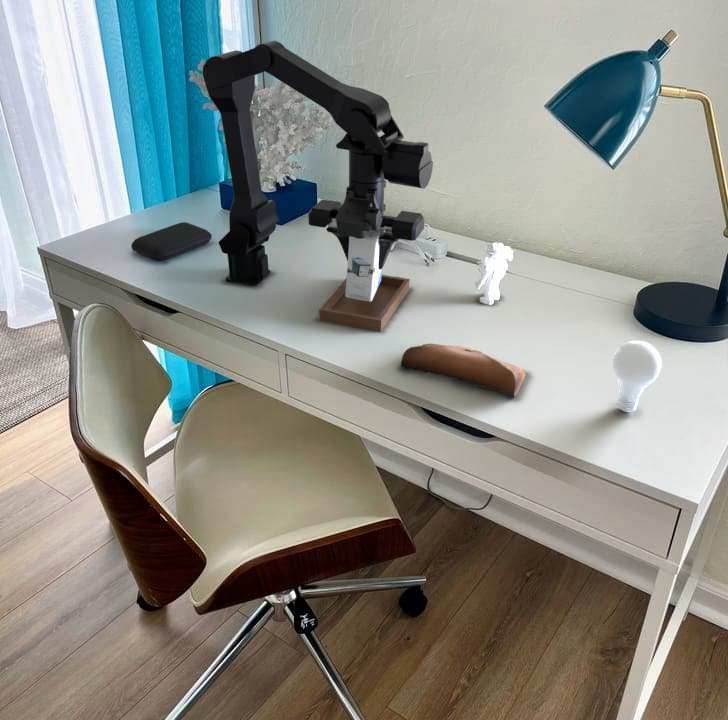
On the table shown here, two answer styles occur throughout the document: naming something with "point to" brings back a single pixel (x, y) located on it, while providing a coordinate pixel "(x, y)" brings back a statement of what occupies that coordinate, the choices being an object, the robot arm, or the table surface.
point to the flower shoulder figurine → (493, 270)
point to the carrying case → (171, 241)
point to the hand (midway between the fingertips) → (365, 266)
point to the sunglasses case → (465, 366)
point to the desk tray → (365, 305)
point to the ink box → (364, 266)
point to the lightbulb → (634, 371)
